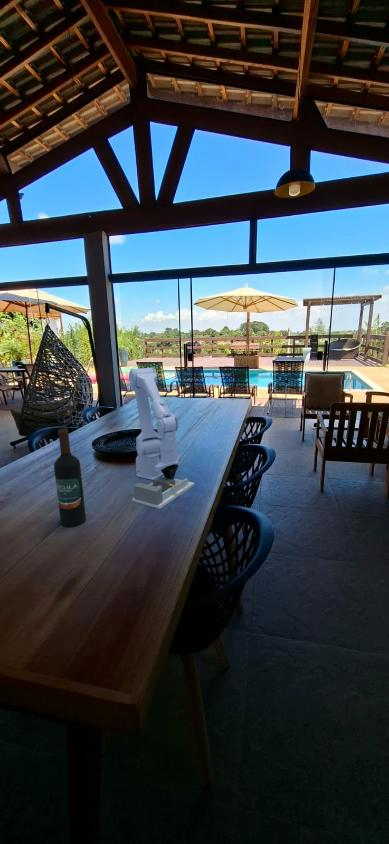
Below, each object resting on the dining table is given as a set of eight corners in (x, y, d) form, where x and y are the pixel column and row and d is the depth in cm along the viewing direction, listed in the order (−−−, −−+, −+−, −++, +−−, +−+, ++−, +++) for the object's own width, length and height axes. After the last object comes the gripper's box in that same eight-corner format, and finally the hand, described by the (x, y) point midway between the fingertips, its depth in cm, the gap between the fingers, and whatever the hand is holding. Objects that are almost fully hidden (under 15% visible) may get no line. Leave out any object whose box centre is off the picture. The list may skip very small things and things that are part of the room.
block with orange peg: (148, 493, 132) (147, 482, 131) (160, 486, 137) (159, 476, 136) (169, 498, 127) (169, 488, 126) (180, 491, 133) (180, 480, 132)
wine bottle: (90, 517, 118) (81, 427, 111) (76, 528, 111) (65, 433, 104) (71, 514, 120) (60, 425, 113) (55, 525, 113) (43, 432, 106)
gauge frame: (132, 501, 129) (131, 485, 127) (169, 479, 147) (168, 465, 145) (159, 508, 122) (158, 492, 121) (194, 485, 140) (194, 470, 139)
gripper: (165, 456, 125) (167, 493, 128) (188, 445, 137) (189, 478, 140) (149, 453, 129) (151, 489, 132) (172, 442, 141) (174, 475, 144)
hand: (169, 483), depth 136 cm, fingers closed
